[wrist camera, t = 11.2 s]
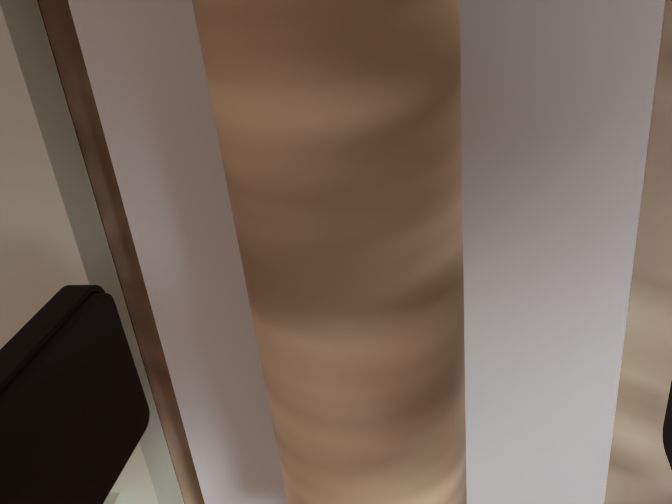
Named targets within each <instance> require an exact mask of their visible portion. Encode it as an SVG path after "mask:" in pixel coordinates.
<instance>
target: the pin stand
mask: <svg viewBox="0 0 672 504" xmlns="http://www.w3.org/2000/svg"><path fill="white" fill-rule="evenodd" d="M66 285H98V286H101V287H102V288H103V289H104V291H105V293H108V294H110V295H111V296H112V297H113V299H114V301H115V304H116V307H117V310H118V313H119V316H120V319H121V323H122V326H123V329H124V332H125V335H126V338H127V341H128V344H129V347H130V350H131V353H132V357H133V360H134V363H135V366H136V369H137V372H138V375H139V378H140V381H141V384H142V387H143V390H144V394H145V397H146V400H147V403H148V406H149V410H150V417H149V423H148V426H147V429H146V431H145V432H144V434H143V436H142V437H141V439H140V441H139V443H138V444H137V446H136V448H135V450H134V451H133V453H132V455H131V456H130V458H129V460H128V462H127V463H126V465H125V467H124V469H123V470H122V472H121V474H120V475H119V477H118V479H117V481H116V482H115V484H114V486H113V488H112V489H111V491H110V493H109V494H108V496H107V498H106V500H105V501H104V503H103V504H184V501H183V498H182V494H181V491H180V488H179V484H178V481H177V477H176V474H175V471H174V467H173V464H172V460H171V457H170V453H169V450H168V447H167V443H166V440H165V436H164V433H163V430H162V426H161V423H160V419H159V416H158V412H157V409H156V406H155V402H154V399H153V395H152V392H151V388H150V385H149V382H148V378H147V375H146V371H145V368H144V365H143V361H142V358H141V354H140V351H139V347H138V344H137V341H136V337H135V334H134V330H133V327H132V324H131V320H130V317H129V313H128V310H127V306H126V303H125V300H124V296H123V293H122V289H121V286H120V282H119V279H118V276H117V272H116V269H115V265H114V262H113V259H112V255H111V252H110V248H109V245H108V241H107V238H106V235H105V231H104V228H103V224H102V221H101V218H100V214H99V211H98V207H97V204H96V200H95V197H94V194H93V190H92V187H91V183H90V180H89V177H88V173H87V170H86V166H85V163H84V159H83V156H82V153H81V149H80V146H79V142H78V139H77V135H76V132H75V129H74V125H73V122H72V118H71V115H70V112H69V108H68V105H67V101H66V98H65V94H64V91H63V88H62V84H61V81H60V77H59V74H58V71H57V67H56V64H55V60H54V57H53V53H52V50H51V47H50V43H49V40H48V36H47V33H46V29H45V26H44V23H43V19H42V16H41V12H40V9H39V6H38V2H37V0H0V349H1V348H2V347H3V346H4V345H5V344H6V343H7V342H8V341H9V340H10V339H11V338H12V337H13V336H14V335H15V334H16V333H17V332H18V331H19V330H20V329H21V328H22V327H23V326H24V325H25V324H26V323H27V322H28V321H29V320H30V319H31V318H32V317H33V316H34V315H35V314H36V313H37V312H38V311H39V310H40V309H41V308H42V307H43V306H44V305H45V304H46V303H47V302H48V301H49V300H50V299H51V298H52V297H53V296H54V295H55V294H56V293H57V292H58V291H59V290H60V289H61V288H63V287H64V286H66Z"/></svg>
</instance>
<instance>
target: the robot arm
mask: <svg viewBox="0 0 672 504" xmlns="http://www.w3.org/2000/svg"><path fill="white" fill-rule="evenodd" d="M149 417H150V410H149V406H148V403H147V400H146V397H145V394H144V390H143V387H142V384H141V381H140V378H139V375H138V372H137V369H136V366H135V363H134V360H133V357H132V353H131V350H130V347H129V344H128V341H127V338H126V335H125V332H124V329H123V326H122V323H121V319H120V316H119V313H118V310H117V307H116V304H115V301H114V299H113V297H112V296H111V295H110V294H108V293H105V291H104V289H103V288H102V287H101V286H98V285H66V286H64V287H63V288H61V289H60V290H59V291H58V292H57V293H56V294H55V295H54V296H53V297H52V298H51V299H50V300H49V301H48V302H47V303H46V304H45V305H44V306H43V307H42V308H41V309H40V310H39V311H38V312H37V313H36V314H35V315H34V316H33V317H32V318H31V319H30V320H29V321H28V322H27V323H26V324H25V325H24V326H23V327H22V328H21V329H20V330H19V331H18V332H17V333H16V334H15V335H14V336H13V337H12V338H11V339H10V340H9V341H8V342H7V343H6V344H5V345H4V346H3V347H2V348H1V349H0V504H103V503H104V501H105V500H106V498H107V496H108V494H109V493H110V491H111V489H112V488H113V486H114V484H115V482H116V481H117V479H118V477H119V475H120V474H121V472H122V470H123V469H124V467H125V465H126V463H127V462H128V460H129V458H130V456H131V455H132V453H133V451H134V450H135V448H136V446H137V444H138V443H139V441H140V439H141V437H142V436H143V434H144V432H145V431H146V429H147V426H148V423H149ZM663 443H664V449H665V452H666V455H667V458H668V461H669V463H670V466H671V469H672V382H671V388H670V393H669V398H668V404H667V409H666V415H665V420H664V425H663Z"/></svg>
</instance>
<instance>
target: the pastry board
mask: <svg viewBox="0 0 672 504" xmlns="http://www.w3.org/2000/svg"><path fill="white" fill-rule="evenodd" d="M68 3H69V7H70V11H71V14H72V18H73V22H74V25H75V29H76V33H77V36H78V40H79V44H80V47H81V51H82V55H83V58H84V62H85V66H86V69H87V73H88V77H89V80H90V84H91V88H92V91H93V95H94V99H95V102H96V106H97V110H98V113H99V117H100V121H101V124H102V128H103V132H104V135H105V139H106V143H107V146H108V150H109V154H110V157H111V161H112V165H113V168H114V172H115V176H116V180H117V183H118V187H119V191H120V194H121V198H122V202H123V205H124V209H125V213H126V216H127V220H128V224H129V227H130V231H131V235H132V238H133V242H134V246H135V249H136V253H137V257H138V260H139V264H140V268H141V271H142V275H143V279H144V282H145V286H146V290H147V293H148V297H149V301H150V304H151V308H152V312H153V315H154V319H155V323H156V326H157V330H158V334H159V337H160V341H161V345H162V349H163V352H164V356H165V360H166V363H167V367H168V371H169V374H170V378H171V382H172V385H173V389H174V393H175V396H176V400H177V404H178V407H179V411H180V415H181V418H182V422H183V426H184V429H185V433H186V437H187V440H188V444H189V448H190V451H191V455H192V459H193V462H194V466H195V470H196V473H197V477H198V481H199V484H200V488H201V492H202V495H203V499H204V503H205V504H288V503H287V497H286V492H285V487H284V482H283V476H282V471H281V466H280V461H279V455H278V450H277V445H276V440H275V434H274V429H273V424H272V419H271V413H270V408H269V403H268V398H267V392H266V387H265V382H264V377H263V371H262V366H261V361H260V356H259V350H258V345H257V340H256V334H255V329H254V324H253V319H252V313H251V308H250V303H249V298H248V292H247V287H246V282H245V277H244V271H243V266H242V261H241V256H240V250H239V245H238V240H237V235H236V229H235V224H234V219H233V214H232V208H231V203H230V198H229V193H228V187H227V182H226V177H225V172H224V166H223V161H222V156H221V151H220V145H219V140H218V135H217V130H216V124H215V119H214V114H213V109H212V103H211V98H210V93H209V88H208V82H207V77H206V72H205V67H204V61H203V56H202V51H201V45H200V40H199V35H198V30H197V24H196V19H195V14H194V9H193V3H192V0H68ZM664 8H665V0H460V54H461V127H462V200H463V273H464V345H465V418H466V491H467V504H604V500H605V492H606V483H607V475H608V467H609V459H610V451H611V442H612V434H613V426H614V418H615V410H616V401H617V393H618V385H619V377H620V369H621V360H622V352H623V344H624V336H625V328H626V319H627V311H628V303H629V295H630V287H631V278H632V270H633V262H634V254H635V246H636V237H637V229H638V221H639V213H640V205H641V196H642V188H643V180H644V172H645V164H646V155H647V147H648V139H649V131H650V123H651V114H652V106H653V98H654V90H655V82H656V73H657V65H658V57H659V49H660V41H661V32H662V24H663V16H664Z"/></svg>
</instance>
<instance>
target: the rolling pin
mask: <svg viewBox="0 0 672 504" xmlns="http://www.w3.org/2000/svg"><path fill="white" fill-rule="evenodd" d="M192 3H193V9H194V14H195V19H196V24H197V30H198V35H199V40H200V45H201V51H202V56H203V61H204V67H205V72H206V77H207V82H208V88H209V93H210V98H211V103H212V109H213V114H214V119H215V124H216V130H217V135H218V140H219V145H220V151H221V156H222V161H223V166H224V172H225V177H226V182H227V187H228V193H229V198H230V203H231V208H232V214H233V219H234V224H235V229H236V235H237V240H238V245H239V250H240V256H241V261H242V266H243V271H244V277H245V282H246V287H247V292H248V298H249V303H250V308H251V313H252V319H253V324H254V329H255V334H256V340H257V345H258V350H259V356H260V361H261V366H262V371H263V377H264V382H265V387H266V392H267V398H268V403H269V408H270V413H271V419H272V424H273V429H274V434H275V440H276V445H277V450H278V455H279V461H280V466H281V471H282V476H283V482H284V487H285V492H286V497H287V503H288V504H467V491H466V418H465V345H464V273H463V200H462V127H461V54H460V0H192Z"/></svg>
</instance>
